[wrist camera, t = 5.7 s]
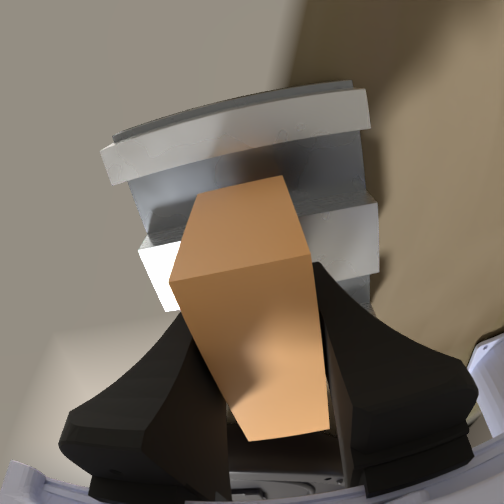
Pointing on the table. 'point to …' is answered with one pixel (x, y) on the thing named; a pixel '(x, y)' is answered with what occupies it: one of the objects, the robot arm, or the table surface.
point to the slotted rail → (258, 173)
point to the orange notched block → (254, 307)
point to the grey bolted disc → (283, 465)
